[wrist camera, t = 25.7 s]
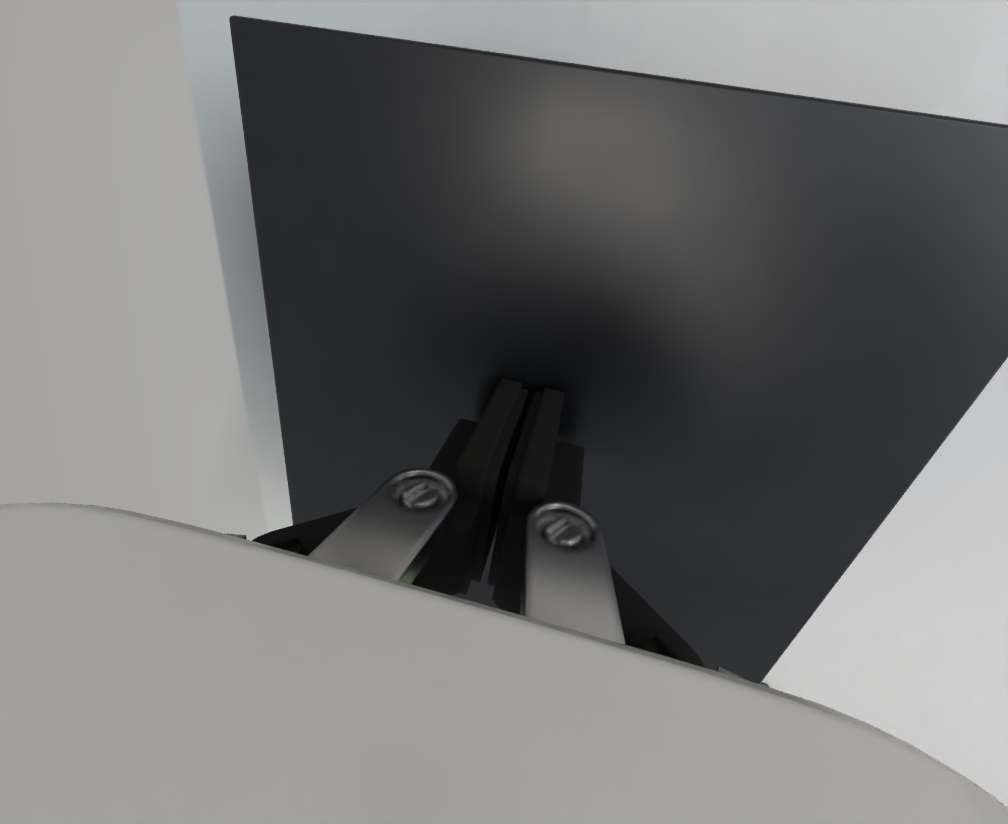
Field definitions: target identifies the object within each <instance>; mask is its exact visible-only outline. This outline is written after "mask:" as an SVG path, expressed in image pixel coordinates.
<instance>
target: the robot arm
mask: <svg viewBox="0 0 1008 824" xmlns="http://www.w3.org/2000/svg"><path fill="white" fill-rule="evenodd" d="M528 394H529V390H526V389H522V383H520V382H515V381H510V380H506V379H501V381H500V382H499V384H498V386H497V388H496V390H495V392H494V394H493V396H492V398H491V399H490V401H489V403H488V405H487V407H486V409H485V411H484V413H483V414H482V416H481V418H480V420H479V422H475V421H471V420H466V419H459V421H458V422H457V424H456V425H455V427H454V428H453V430H452V432H451V433H450V435H449V437H448V438H447V440H446V441H445V443H444V445H443V446H442V448H441V449H440V451H439V453H438V454H437V456H436V458H435V459H434V461H433V462H432V464H431V466H430V467H429V468H411V469H405V470H402V471H400V472H397V473H395V474H394V475H392V476H391V477H390V478H388V479H387V480H386V481H385V482H384V483H383V484H382V485H381V486H380V487H379V488H378V489H377V490H376V491H375V492H374V493H373V494H372V495H371V496H370V497H369V498H368V499H366V500H365V501H364V502H363V503H362V504H361V505H360V506H359V507H357V508H354V509H350V510H346V511H343V512H339V513H336V514H332V515H329V516H325V517H322V518H318V519H314V520H311V521H307V522H304V523H300V524H297V525H293V526H289V527H286V528H282V529H279V530H275V531H272V532H269V533H267V534H264V535H261V536H259V537H257V538H255V539H254V540H252V541H250V540H247V539H246V535H235V534H223V533H219V532H215V531H212V530H208V529H204V528H200V527H196V526H192V525H188V524H184V523H180V522H175V521H171V520H166V519H162V518H158V517H154V516H149V515H145V514H140V513H136V512H132V511H127V510H121V509H114V508H108V507H101V506H95V505H83V504H66V503H25V504H24V503H23V504H4V505H0V824H1008V807H1007V806H1005V805H1004V804H1003V803H1001V802H1000V801H999V800H997V799H996V798H995V797H993V796H992V795H991V794H989V793H988V792H986V791H985V790H984V789H982V788H981V787H979V786H978V785H976V784H975V783H973V782H972V781H970V780H969V779H967V778H966V777H965V776H963V775H961V774H960V773H958V772H956V771H955V770H953V769H951V768H950V767H948V766H946V765H945V764H943V763H941V762H940V761H938V760H936V759H935V758H933V757H931V756H929V755H928V754H926V753H924V752H923V751H921V750H919V749H918V748H916V747H914V746H913V745H911V744H909V743H907V742H905V741H903V740H901V739H899V738H896V737H894V736H892V735H890V734H888V733H886V732H884V731H882V730H880V729H878V728H876V727H874V726H872V725H870V724H868V723H866V722H863V721H861V720H858V719H856V718H853V717H851V716H848V715H846V714H843V713H841V712H838V711H836V710H833V709H831V708H828V707H826V706H823V705H821V704H818V703H815V702H812V701H809V700H806V699H803V698H800V697H797V696H794V695H791V694H788V693H784V692H781V691H778V690H775V689H772V688H769V687H766V686H763V685H760V684H757V683H754V682H750V681H748V680H746V679H744V678H742V677H740V676H738V675H736V674H734V673H732V672H730V671H728V670H725V669H723V668H721V667H718V668H717V670H716V671H714V670H710V669H707V668H705V666H704V664H703V662H702V660H701V659H700V657H699V656H698V655H697V654H696V653H695V651H694V650H693V649H692V648H691V646H690V645H689V644H688V643H687V642H686V641H685V640H684V639H683V638H682V637H681V636H680V635H679V634H678V633H677V632H676V631H675V630H674V629H673V628H672V627H671V626H670V625H669V624H668V623H667V622H666V621H665V620H664V619H663V618H662V617H661V616H660V615H659V614H658V613H657V612H656V611H655V610H654V609H653V608H652V607H651V606H650V605H649V604H648V603H647V602H646V601H645V600H644V599H643V598H642V597H641V596H640V595H639V594H638V593H637V592H636V591H635V590H634V589H633V588H632V587H631V586H630V585H629V584H628V583H627V582H626V581H625V580H624V579H623V578H622V577H621V576H620V575H619V574H618V573H617V572H616V571H615V570H614V569H613V568H612V567H611V565H610V564H609V559H608V554H607V549H606V544H605V539H604V534H603V531H602V528H601V526H600V523H599V522H598V521H597V520H596V519H595V517H594V516H593V515H592V514H590V513H589V512H588V511H586V510H585V509H583V508H581V507H580V502H581V489H582V476H583V463H584V447H583V446H579V445H574V444H570V443H566V442H561V441H557V440H556V437H557V432H558V426H559V421H560V416H561V411H562V406H563V400H564V395H565V392H561V391H556V390H552V389H547V388H544V391H543V393H540V392H535V394H534V396H533V399H532V402H531V405H530V408H529V411H528V414H527V417H526V420H525V423H524V426H523V420H524V415H525V410H526V405H527V399H528ZM522 426H523V429H522ZM521 431H522V432H521ZM496 530H497V532H496ZM495 533H496V538H495V543H494V549H493V554H492V560H491V565H490V571H489V576H488V582H487V585H490V586H494V592H493V597H492V600H493V603H495V604H496V606H497V607H498V609H497V608H494V607H490V606H486V605H483V604H479V603H476V602H472V601H468V600H465V599H461V598H458V597H454V596H452V595H455V594H457V593H460V594H463V595H467V592H468V589H469V586H470V583H471V580H472V581H476V582H479V583H480V581H481V578H482V575H483V572H484V568H485V565H486V562H487V559H488V556H489V552H490V549H491V546H492V543H493V540H494V536H495Z"/></svg>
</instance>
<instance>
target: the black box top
mask: <svg viewBox="0 0 1008 824" xmlns="http://www.w3.org/2000/svg"><path fill="white" fill-rule="evenodd" d="M229 20H230V28H231V36H232V44H233V52H234V60H235V68H236V76H237V84H238V91H239V99H240V107H241V115H242V123H243V131H244V139H245V147H246V155H247V163H248V171H249V179H250V187H251V194H252V202H253V210H254V218H255V226H256V234H257V242H258V250H259V258H260V266H261V274H262V282H263V290H264V298H265V305H266V313H267V321H268V329H269V337H270V345H271V353H272V361H273V369H274V377H275V385H276V393H277V401H278V409H279V416H280V424H281V432H282V440H283V448H284V456H285V464H286V472H287V480H288V488H289V496H290V504H291V512H292V520H293V525H297V524H300V523H304V522H307V521H311V520H314V519H318V518H322V517H325V516H329V515H332V514H336V513H339V512H343V511H346V510H350V509H354V508H357V507H359V506H360V505H361V504H362V503H363V502H364V501H365V500H366V499H368V498H369V497H370V496H371V495H372V494H373V493H374V492H375V491H376V490H377V489H378V488H379V487H380V486H381V485H382V484H383V483H384V482H385V481H386V480H387V479H388V478H390V477H391V476H392V475H394V474H395V473H397V472H400V471H402V470H405V469H411V468H429V467H430V466H431V464H432V462H433V461H434V459H435V458H436V456H437V454H438V453H439V451H440V449H441V448H442V446H443V445H444V443H445V441H446V440H447V438H448V437H449V435H450V433H451V432H452V430H453V428H454V427H455V425H456V424H457V422H458V421H459V419H466V420H471V421H475V422H479V420H480V418H481V416H482V414H483V413H484V411H485V409H486V407H487V405H488V403H489V401H490V399H491V398H492V396H493V394H494V392H495V390H496V388H497V386H498V384H499V382H500V381H501V379H506V380H510V381H515V382H520V383H522V389H526V390H529V394H528V399H527V405H526V410H525V415H524V420H523V426H524V423H525V420H526V417H527V414H528V411H529V408H530V405H531V402H532V399H533V396H534V394H535V392H540V393H543V391H544V388H547V389H552V390H556V391H561V392H565V395H564V400H563V406H562V411H561V416H560V421H559V426H558V432H557V437H556V440H557V441H561V442H566V443H570V444H574V445H579V446H583V447H584V463H583V476H582V489H581V502H580V507H581V508H583V509H585V510H586V511H588V512H589V513H590V514H592V515H593V516H594V517H595V519H596V520H597V521H598V522H599V523H600V526H601V528H602V531H603V534H604V539H605V544H606V549H607V554H608V559H609V564H610V565H611V567H612V568H613V569H614V570H615V571H616V572H617V573H618V574H619V575H620V576H621V577H622V578H623V579H624V580H625V581H626V582H627V583H628V584H629V585H630V586H631V587H632V588H633V589H634V590H635V591H636V592H637V593H638V594H639V595H640V596H641V597H642V598H643V599H644V600H645V601H646V602H647V603H648V604H649V605H650V606H651V607H652V608H653V609H654V610H655V611H656V612H657V613H658V614H659V615H660V616H661V617H662V618H663V619H664V620H665V621H666V622H667V623H668V624H669V625H670V626H671V627H672V628H673V629H674V630H675V631H676V632H677V633H678V634H679V635H680V636H681V637H682V638H683V639H684V640H685V641H686V642H687V643H688V644H689V645H690V646H691V648H692V649H693V650H694V651H695V653H696V654H697V655H698V656H699V657H700V659H701V660H702V662H703V664H704V666H705V668H707V669H710V670H714V671H716V670H717V668H718V667H721V668H723V669H725V670H728V671H730V672H732V673H734V674H736V675H738V676H740V677H742V678H744V679H746V680H748V681H750V682H754V683H757V684H760V683H761V682H762V680H763V679H764V678H765V676H766V675H767V674H768V672H769V671H770V670H771V668H772V667H773V666H774V664H775V663H776V662H777V661H778V659H779V658H780V657H781V655H782V654H783V653H784V651H785V650H786V649H787V647H788V646H789V645H790V643H791V642H792V641H793V639H794V638H795V637H796V636H797V634H798V633H799V632H800V630H801V629H802V628H803V626H804V625H805V624H806V622H807V621H808V620H809V618H810V617H811V616H812V614H813V613H814V612H815V610H816V609H817V608H818V607H819V605H820V604H821V603H822V601H823V600H824V599H825V597H826V596H827V595H828V593H829V592H830V591H831V589H832V588H833V587H834V585H835V584H836V583H837V581H838V580H839V579H840V578H841V576H842V575H843V574H844V572H845V571H846V570H847V568H848V567H849V566H850V564H851V563H852V562H853V560H854V559H855V558H856V556H857V555H858V554H859V552H860V551H861V550H862V549H863V547H864V546H865V545H866V543H867V542H868V541H869V539H870V538H871V537H872V535H873V534H874V533H875V531H876V530H877V529H878V527H879V526H880V525H881V524H882V522H883V521H884V520H885V518H886V517H887V516H888V514H889V513H890V512H891V510H892V509H893V508H894V506H895V505H896V504H897V502H898V501H899V500H900V498H901V497H902V496H903V495H904V493H905V492H906V491H907V489H908V488H909V487H910V485H911V484H912V483H913V481H914V480H915V479H916V477H917V476H918V475H919V473H920V472H921V471H922V469H923V468H924V467H925V466H926V464H927V463H928V462H929V460H930V459H931V458H932V456H933V455H934V454H935V452H936V451H937V450H938V448H939V447H940V446H941V444H942V443H943V442H944V440H945V439H946V438H947V437H948V435H949V434H950V433H951V431H952V430H953V429H954V427H955V426H956V425H957V423H958V422H959V421H960V419H961V418H962V417H963V415H964V414H965V413H966V412H967V410H968V409H969V408H970V406H971V405H972V404H973V402H974V401H975V400H976V398H977V397H978V396H979V394H980V393H981V392H982V390H983V389H984V388H985V386H986V385H987V384H988V383H989V381H990V380H991V379H992V377H993V376H994V375H995V373H996V372H997V371H998V369H999V368H1000V367H1001V365H1002V364H1003V363H1004V361H1005V360H1006V359H1007V357H1008V125H1005V124H998V123H991V122H984V121H977V120H970V119H963V118H956V117H949V116H942V115H935V114H927V113H920V112H913V111H906V110H899V109H892V108H885V107H878V106H871V105H864V104H857V103H850V102H843V101H835V100H828V99H821V98H814V97H807V96H800V95H793V94H786V93H779V92H772V91H765V90H758V89H751V88H743V87H736V86H729V85H722V84H715V83H708V82H701V81H694V80H687V79H680V78H673V77H666V76H659V75H651V74H644V73H637V72H630V71H623V70H616V69H609V68H602V67H595V66H588V65H581V64H574V63H567V62H559V61H552V60H545V59H538V58H531V57H524V56H517V55H510V54H503V53H496V52H489V51H482V50H475V49H467V48H460V47H453V46H446V45H439V44H432V43H425V42H418V41H411V40H404V39H397V38H390V37H383V36H375V35H368V34H361V33H354V32H347V31H340V30H333V29H326V28H319V27H312V26H305V25H298V24H291V23H283V22H276V21H269V20H262V19H255V18H248V17H241V16H231V17H230V19H229ZM523 426H522V429H523ZM521 432H522V431H521ZM496 532H497V530H496ZM495 538H496V533H495V536H494V540H493V543H492V546H491V549H490V552H489V556H488V559H487V562H486V565H485V568H484V572H483V575H482V578H481V581H480V583H479V582H476V581H472V580H471V583H470V586H469V589H468V592H467V595H463V594H460V593H457V594H455V595H452V596H454V597H458V598H461V599H465V600H468V601H472V602H476V603H479V604H483V605H486V606H490V607H494V608H497V609H498V607H497V606H496V604H495V603H493V600H492V597H493V592H494V586H490V585H487V582H488V576H489V571H490V565H491V560H492V554H493V549H494V543H495Z"/></svg>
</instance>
